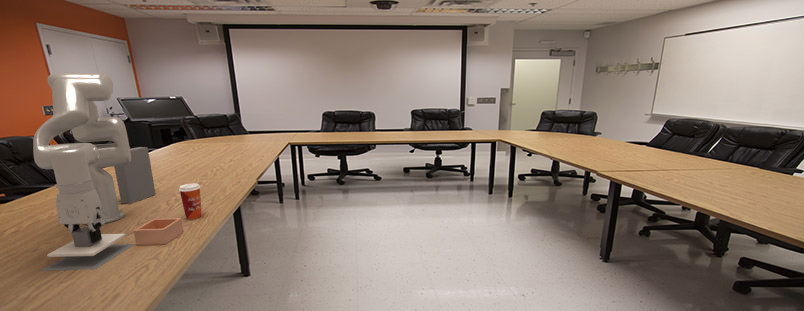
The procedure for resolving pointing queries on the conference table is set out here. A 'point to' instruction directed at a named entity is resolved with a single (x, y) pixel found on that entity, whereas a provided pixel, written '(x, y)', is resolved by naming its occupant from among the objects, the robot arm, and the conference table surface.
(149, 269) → the conference table surface
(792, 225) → the conference table surface
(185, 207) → the paper cup
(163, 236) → the open box
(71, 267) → the mat
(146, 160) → the tall grey upright block
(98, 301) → the conference table surface
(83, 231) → the cover
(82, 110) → the robot arm
